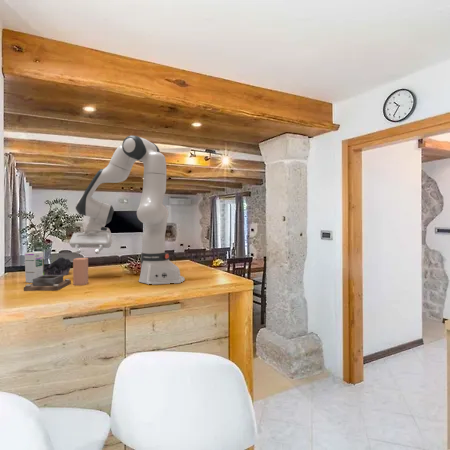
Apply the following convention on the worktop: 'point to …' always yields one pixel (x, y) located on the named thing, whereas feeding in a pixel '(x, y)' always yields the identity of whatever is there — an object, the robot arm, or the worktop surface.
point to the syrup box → (34, 265)
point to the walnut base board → (47, 283)
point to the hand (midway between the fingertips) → (87, 252)
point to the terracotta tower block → (80, 271)
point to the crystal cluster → (58, 267)
